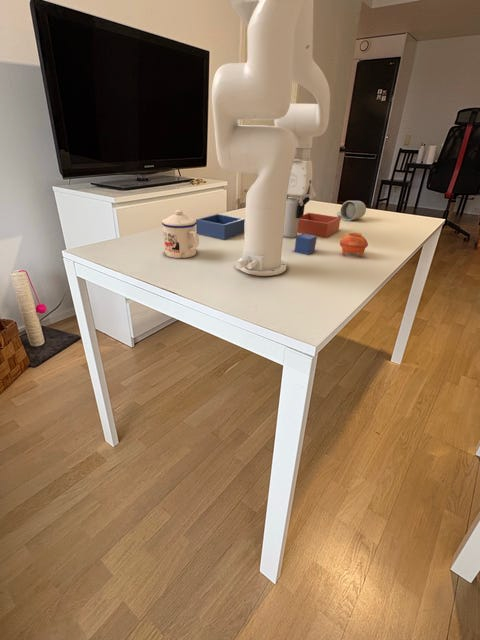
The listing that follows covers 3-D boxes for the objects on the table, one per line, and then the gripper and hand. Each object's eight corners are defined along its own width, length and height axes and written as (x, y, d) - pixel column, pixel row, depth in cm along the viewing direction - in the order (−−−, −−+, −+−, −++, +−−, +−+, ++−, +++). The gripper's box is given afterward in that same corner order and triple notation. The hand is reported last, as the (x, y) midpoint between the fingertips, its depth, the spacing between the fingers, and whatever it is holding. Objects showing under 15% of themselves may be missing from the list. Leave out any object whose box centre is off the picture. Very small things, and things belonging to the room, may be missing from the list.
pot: (352, 260, 95) (352, 235, 93) (333, 257, 102) (333, 234, 99) (374, 255, 98) (374, 231, 96) (354, 254, 105) (354, 231, 103)
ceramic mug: (365, 219, 141) (369, 200, 138) (354, 222, 136) (358, 202, 133) (343, 215, 148) (346, 196, 145) (332, 217, 143) (335, 198, 140)
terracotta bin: (325, 237, 115) (327, 223, 113) (292, 231, 121) (293, 218, 119) (338, 230, 125) (340, 217, 122) (306, 224, 130) (308, 212, 128)
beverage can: (296, 238, 113) (300, 200, 107) (281, 237, 114) (285, 199, 108) (296, 235, 117) (301, 198, 111) (282, 233, 118) (286, 197, 112)
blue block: (308, 254, 98) (310, 239, 96) (294, 251, 101) (296, 236, 98) (314, 251, 102) (316, 236, 100) (300, 248, 104) (302, 233, 102)
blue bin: (224, 239, 109) (224, 225, 107) (196, 233, 114) (195, 219, 112) (244, 232, 117) (244, 218, 115) (217, 226, 123) (217, 213, 121)
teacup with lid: (157, 252, 95) (153, 209, 89) (183, 246, 101) (181, 205, 95) (184, 264, 88) (182, 218, 82) (210, 256, 94) (210, 213, 88)
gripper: (267, 153, 104) (263, 214, 113) (319, 157, 96) (311, 222, 105) (279, 152, 110) (274, 210, 119) (329, 156, 102) (320, 218, 111)
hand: (291, 215), depth 112 cm, fingers closed on beverage can, 4 cm apart
